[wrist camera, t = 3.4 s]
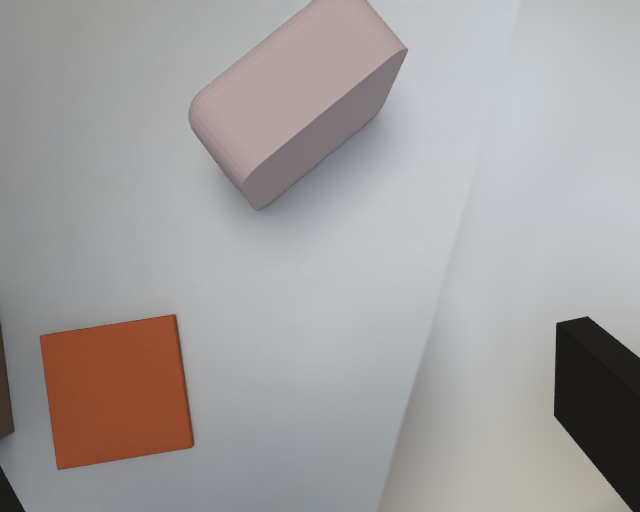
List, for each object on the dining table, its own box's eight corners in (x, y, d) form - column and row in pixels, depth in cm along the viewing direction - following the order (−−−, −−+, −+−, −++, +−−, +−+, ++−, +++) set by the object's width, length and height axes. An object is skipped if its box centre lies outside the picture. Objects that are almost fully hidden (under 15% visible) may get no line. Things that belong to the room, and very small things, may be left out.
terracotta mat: (61, 466, 30) (57, 470, 30) (44, 334, 31) (39, 336, 30) (194, 444, 31) (191, 447, 30) (175, 314, 31) (173, 314, 30)
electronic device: (332, 57, 32) (345, -43, 22) (379, 113, 32) (414, 37, 22) (210, 156, 32) (167, 99, 22) (258, 213, 32) (236, 182, 22)
